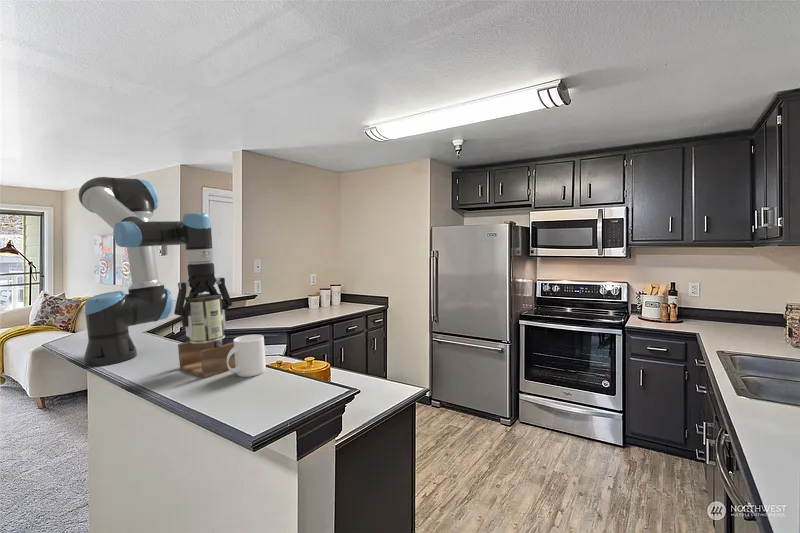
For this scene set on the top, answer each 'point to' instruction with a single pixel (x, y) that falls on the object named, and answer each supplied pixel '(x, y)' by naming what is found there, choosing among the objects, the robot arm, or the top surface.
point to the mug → (248, 355)
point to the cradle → (205, 358)
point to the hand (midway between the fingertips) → (206, 332)
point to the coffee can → (206, 318)
